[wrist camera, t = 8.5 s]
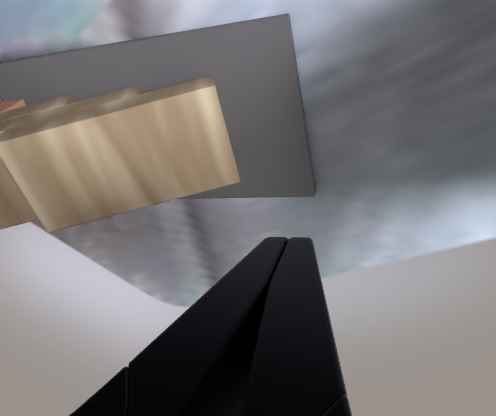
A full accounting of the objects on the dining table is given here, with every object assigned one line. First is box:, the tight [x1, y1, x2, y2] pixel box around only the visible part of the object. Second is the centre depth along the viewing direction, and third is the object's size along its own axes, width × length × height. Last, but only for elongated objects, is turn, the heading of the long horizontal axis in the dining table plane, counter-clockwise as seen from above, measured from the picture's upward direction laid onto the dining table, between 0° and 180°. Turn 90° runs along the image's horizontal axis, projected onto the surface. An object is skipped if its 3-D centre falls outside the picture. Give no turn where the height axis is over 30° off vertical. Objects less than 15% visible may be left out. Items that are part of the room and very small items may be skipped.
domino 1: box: [0, 85, 143, 229], centre depth 22 cm, size 2×5×10 cm
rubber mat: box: [0, 14, 316, 199], centre depth 23 cm, size 17×9×1 cm, turn 102°
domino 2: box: [0, 75, 241, 233], centre depth 21 cm, size 2×5×10 cm
